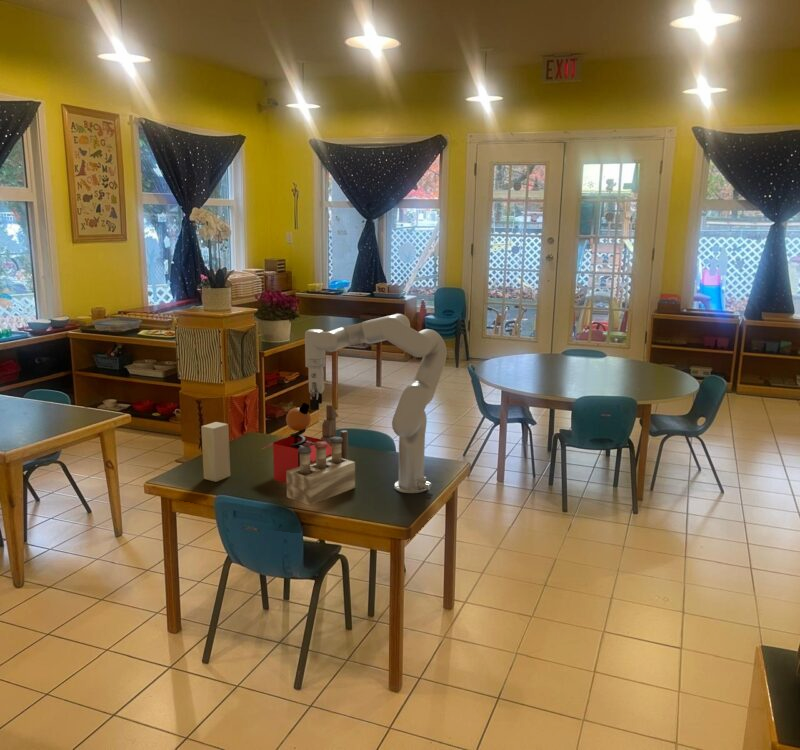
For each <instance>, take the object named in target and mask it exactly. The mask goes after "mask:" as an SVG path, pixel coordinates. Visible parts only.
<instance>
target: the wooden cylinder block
mask: <svg viewBox="0 0 800 750" xmlns="http://www.w3.org/2000/svg"><path fill="white" fill-rule="evenodd" d="M341 460H342V462H341V463H339V464H334V463H332V455H331V456H328V457H326V468H325V469H317V468H316V461H314V462H311V463H310V474H309V475H301V474H300V466H299V467H296V468H293V469H290V470H287V471H286V477H287V483H286V498H288V499H290V500H294V501H296V502H300V503H302V504H304V505H307V506H313V505H316V504H318V503H320V502H322V501H326V500H327V499H330V498H333V497H335V496H338V495H340V494H343V493H346V492H348V491H350V490H352V489H355V488H356V461H353V460H350V459H348V460H346V459H343V458H341Z"/></svg>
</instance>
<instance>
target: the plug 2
mask: <svg viewBox="0 0 800 750" xmlns="http://www.w3.org/2000/svg"><path fill="white" fill-rule="evenodd" d="M330 442H331V443H332V463H334V464H339V463H341V462H342V460H341V443H342V442H343V438H342V437H340V436H336V437H331V438H330Z"/></svg>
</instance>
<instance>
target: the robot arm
mask: <svg viewBox="0 0 800 750" xmlns="http://www.w3.org/2000/svg"><path fill="white" fill-rule="evenodd" d="M384 341H388V342H389V343H391V344H392V345H393V346H396V348H399V349H400V350H402V351H404V352H406V353H407V354H409V355H411V356H413V357H416V358H421V361H420V363H419V365H418V368H417V371H416V374H415V376H414V378H413V380H412V381H411V383H410V384H408V385H407V386H406V387H405V388H404V390H403V391H402V393H401V395H400V398H399V401H398V403H397V405H396V408H395V412H394V414H393V417H392V421H391V428H392V430H393V432H394V433H395V434H396V436H398V480H397V481H395V483H394V485H393V488H394V489H395V490H396V491H397V492H399V493H404V494H419V493H423V492H425V491H427V490H430V489H431V487H432V485H433V483H432V482H430V481H427V477H426V476H425V449H426V447H425V446H426V430H427V419H428V418H427V414H426V411H425V409H426V407H427V405H429V404H430V403H431V402H432V400H433V398H434V396H435V393H436V389H437V387H438V384H439V381H440V379H441V376H442V373H443V371H444V369H445V364H446V360H447V356H448V355H447V353H448V351H447V345H446V342H445V340H444V339H443V337H442V336H441V335H440V333H438V332H437V331H436V330H434V329H431V328H430V329H429V328H425V329H422V330H420V331H417V330H416V329H414V328H412V327H411V322H410V319H409V318H408V316H406V315H405V314H402V313H394V314H391V315H386V316H383V317H382V316H381V317H378V318H373V319H369V320H365V321H362V322H359V323H355V324H350V325H347V326H342V327H341V326H340V327H337V328H334V329H332V330H329V331H324V330H323V329H321V328H320V329H318V328H313V329H307V330H305V333H304V356H305V357H304V358H305V359H304V360H305V368H308V393H309V394H310V400H309V406H310V407H309V410H310V411H319V410H320V405H321V404H322V403H323V392H324V390H325V374H324V367H326V361H327V360H326V352H330V353H331V352H336V351H338V350H340V349H342V348H346V347H349V346H355V345H358V344H365V343H366V344H368V345H370V344H371V345H372V344H376V343H380V342H384Z"/></svg>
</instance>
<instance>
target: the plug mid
mask: <svg viewBox="0 0 800 750" xmlns="http://www.w3.org/2000/svg"><path fill="white" fill-rule="evenodd" d="M326 447H327V442H316V443H315V448H316V468H317V469H325V468H326Z"/></svg>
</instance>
